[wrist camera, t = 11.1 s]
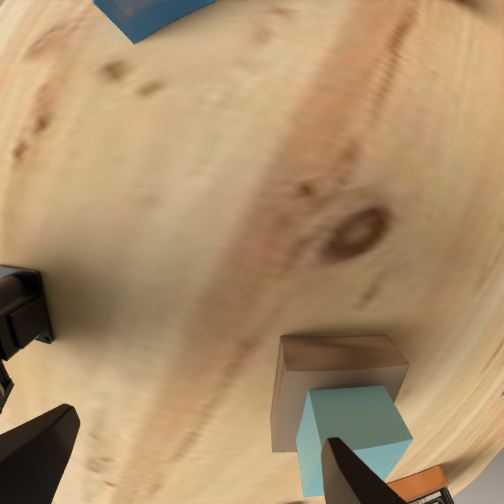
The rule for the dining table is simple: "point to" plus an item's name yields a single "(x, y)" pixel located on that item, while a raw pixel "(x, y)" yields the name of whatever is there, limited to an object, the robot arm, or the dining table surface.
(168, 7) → the perfume bottle
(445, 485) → the whiskey bottle
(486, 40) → the dining table surface
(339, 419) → the teal block
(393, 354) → the walnut block
